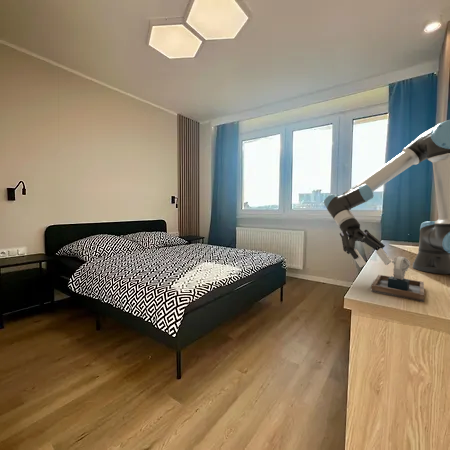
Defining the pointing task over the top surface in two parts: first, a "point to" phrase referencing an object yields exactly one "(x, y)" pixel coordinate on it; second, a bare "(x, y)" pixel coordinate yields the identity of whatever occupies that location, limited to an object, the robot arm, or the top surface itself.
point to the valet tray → (412, 293)
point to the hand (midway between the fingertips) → (376, 264)
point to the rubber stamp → (399, 274)
